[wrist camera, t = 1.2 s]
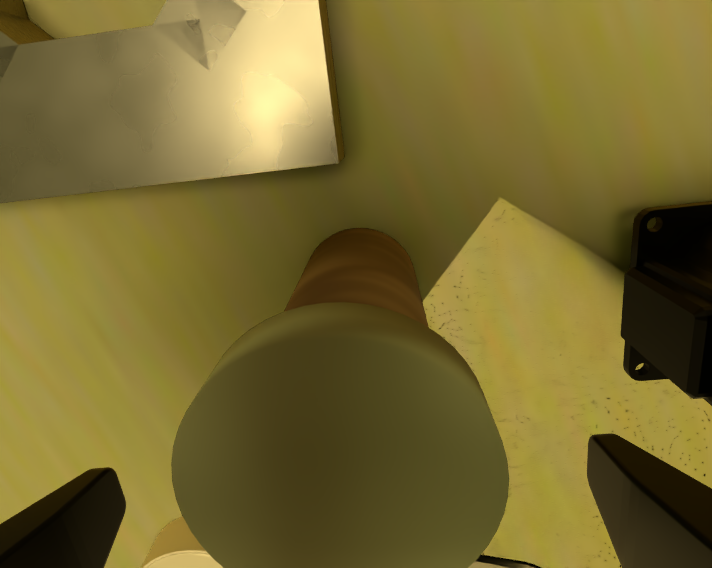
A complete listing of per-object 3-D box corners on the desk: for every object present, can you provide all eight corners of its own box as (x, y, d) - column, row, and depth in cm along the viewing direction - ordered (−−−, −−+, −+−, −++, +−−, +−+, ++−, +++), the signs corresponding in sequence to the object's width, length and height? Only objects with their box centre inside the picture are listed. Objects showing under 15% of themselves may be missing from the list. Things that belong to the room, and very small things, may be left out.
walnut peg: (429, 200, 18) (505, 320, 7) (438, 342, 20) (511, 603, 9) (275, 217, 19) (133, 353, 8) (299, 354, 20) (211, 616, 10)
